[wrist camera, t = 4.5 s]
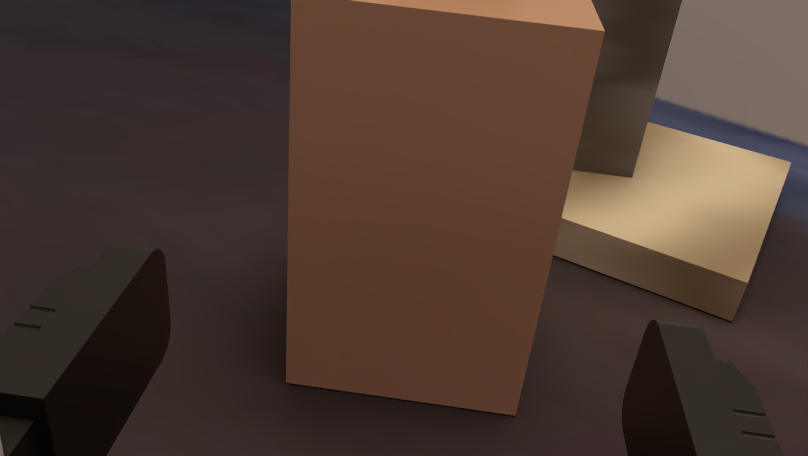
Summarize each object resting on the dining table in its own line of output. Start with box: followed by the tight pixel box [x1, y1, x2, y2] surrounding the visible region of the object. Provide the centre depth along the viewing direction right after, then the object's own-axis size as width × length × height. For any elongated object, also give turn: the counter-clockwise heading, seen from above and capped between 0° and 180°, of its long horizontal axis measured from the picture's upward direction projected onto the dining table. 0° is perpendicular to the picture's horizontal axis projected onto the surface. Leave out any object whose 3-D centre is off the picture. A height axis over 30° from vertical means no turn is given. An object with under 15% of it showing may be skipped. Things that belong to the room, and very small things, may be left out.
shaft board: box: [553, 0, 791, 321], centre depth 28 cm, size 14×11×8 cm
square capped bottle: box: [286, 0, 605, 416], centre depth 19 cm, size 6×6×11 cm
